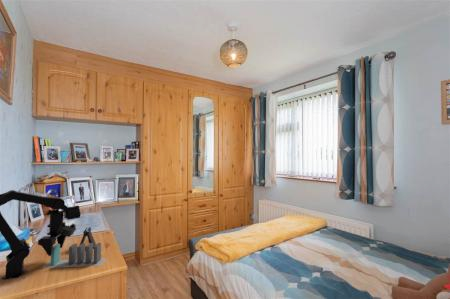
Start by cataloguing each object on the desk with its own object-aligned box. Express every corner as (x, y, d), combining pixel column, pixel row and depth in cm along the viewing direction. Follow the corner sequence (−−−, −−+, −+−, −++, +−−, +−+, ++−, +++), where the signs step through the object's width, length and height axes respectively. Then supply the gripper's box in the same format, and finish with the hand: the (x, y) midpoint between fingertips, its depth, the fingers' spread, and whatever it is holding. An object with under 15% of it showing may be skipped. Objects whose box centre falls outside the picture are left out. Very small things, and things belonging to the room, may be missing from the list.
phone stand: (76, 251, 135) (77, 230, 135) (79, 247, 140) (80, 227, 140) (94, 249, 138) (94, 229, 138) (96, 245, 143) (96, 226, 143)
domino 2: (71, 264, 118) (72, 247, 118) (68, 265, 118) (69, 247, 118) (76, 260, 123) (77, 243, 123) (73, 260, 123) (74, 243, 123)
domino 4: (88, 264, 119) (88, 246, 119) (85, 264, 119) (85, 246, 119) (92, 259, 124) (93, 243, 124) (89, 259, 124) (90, 243, 124)
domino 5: (96, 263, 119) (97, 246, 120) (93, 264, 119) (93, 246, 119) (100, 259, 124) (101, 242, 124) (97, 259, 124) (97, 242, 124)
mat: (100, 266, 118) (100, 265, 118) (40, 268, 114) (40, 267, 114) (106, 258, 126) (106, 258, 126) (51, 260, 123) (51, 259, 123)
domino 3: (80, 264, 118) (80, 247, 119) (76, 264, 118) (77, 247, 118) (84, 260, 123) (85, 243, 123) (81, 260, 123) (82, 243, 123)
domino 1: (53, 265, 117) (54, 247, 117) (50, 265, 117) (51, 247, 117) (59, 260, 122) (60, 243, 122) (56, 261, 122) (56, 244, 122)
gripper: (62, 227, 111) (61, 259, 111) (81, 216, 130) (81, 244, 130) (37, 227, 110) (36, 260, 110) (60, 216, 128) (59, 244, 128)
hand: (55, 251), depth 119 cm, fingers open, 9 cm apart
